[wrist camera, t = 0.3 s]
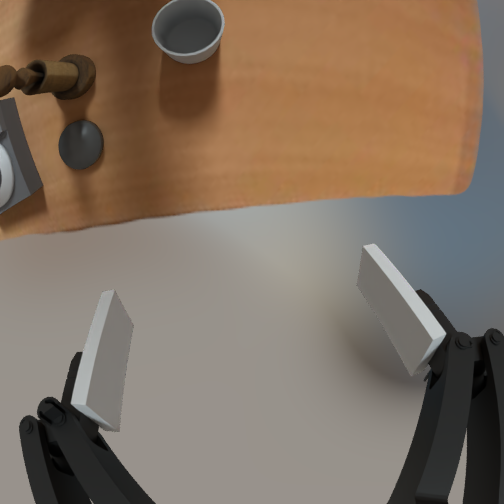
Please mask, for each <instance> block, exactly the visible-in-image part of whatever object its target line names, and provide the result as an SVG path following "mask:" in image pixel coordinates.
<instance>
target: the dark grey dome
mask: <svg viewBox="0 0 504 504" xmlns="http://www.w3.org/2000/svg"><path fill="white" fill-rule="evenodd" d="M102 150H103V136H102V133H101V131H100V129H99V128H98V126H97V125H96V124H94V123H93V122H91V121H87V120H80V121H77V122H74V123H72V124H70V125H68V126H67V127H66V128H65V129H64V131H63V132H62V134H61V136H60V139H59V153H60V156H61V158H62V160H63V161H64V163H65V164H66V165H68V166H69V167H71V168H73V169H85V168H87V167H89V166H91V165H92V164H93V163H94V162H96V161H97V159H98V158H99V157H100V155H101V153H102Z"/></svg>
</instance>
